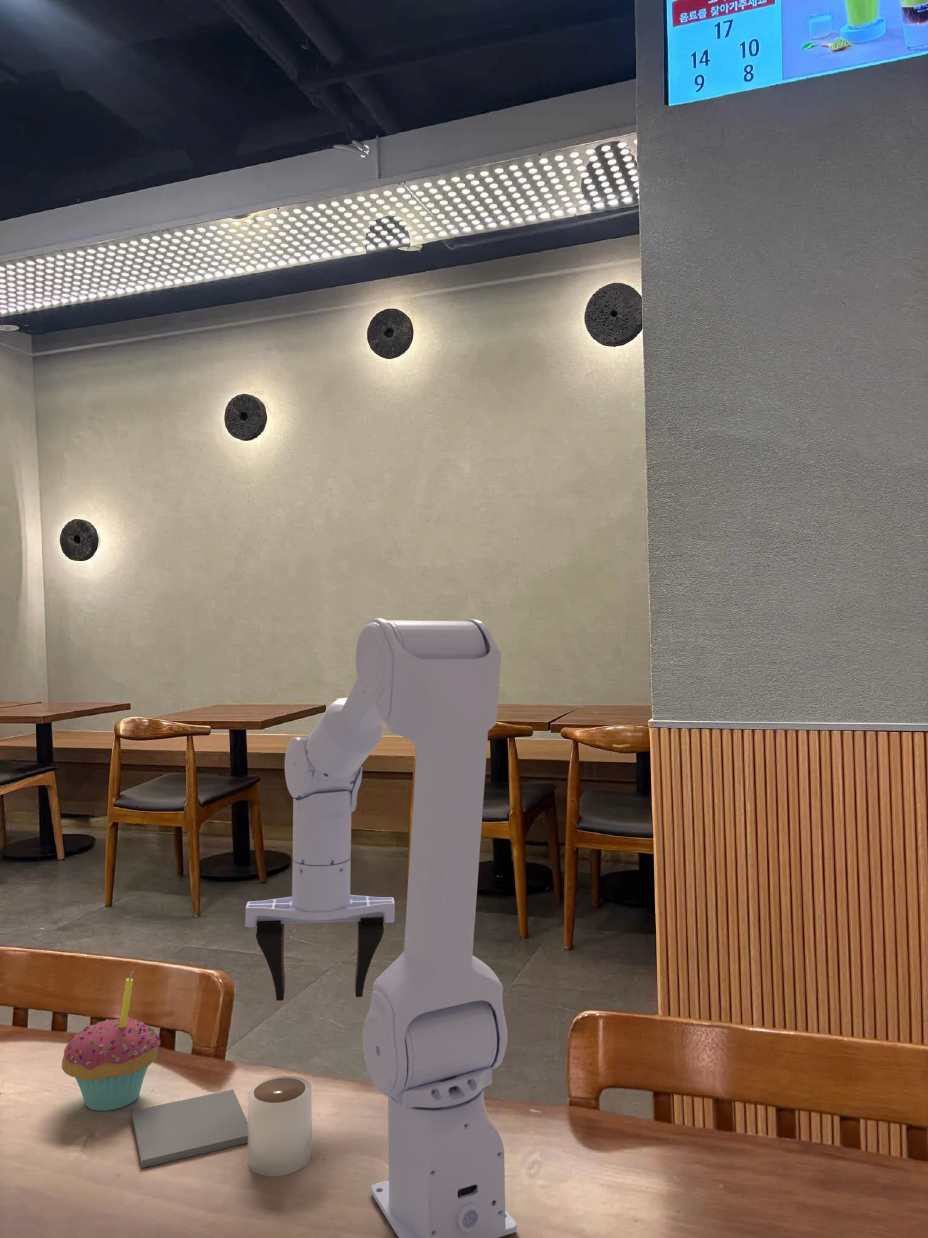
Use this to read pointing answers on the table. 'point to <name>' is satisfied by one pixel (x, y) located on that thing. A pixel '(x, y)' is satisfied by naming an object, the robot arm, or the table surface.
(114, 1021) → the cupcake
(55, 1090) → the table surface
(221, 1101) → the coaster
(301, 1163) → the cup
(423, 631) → the robot arm
